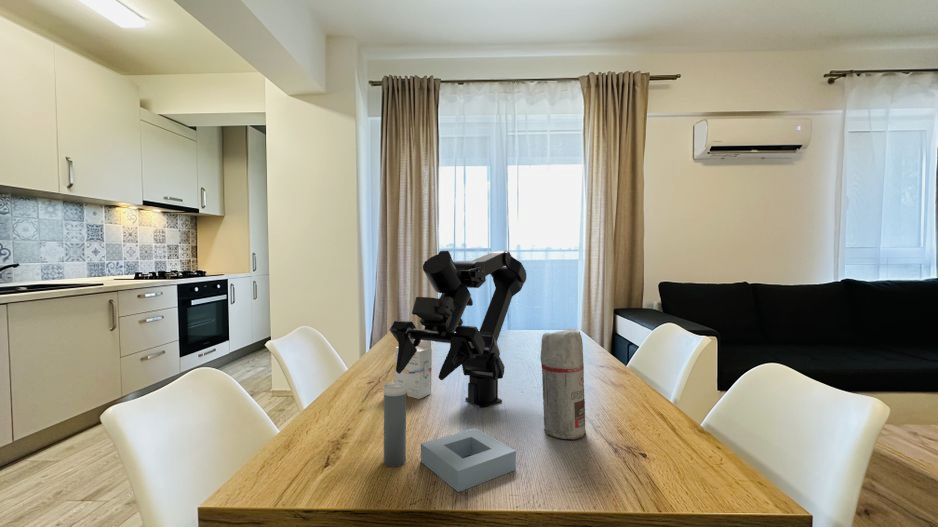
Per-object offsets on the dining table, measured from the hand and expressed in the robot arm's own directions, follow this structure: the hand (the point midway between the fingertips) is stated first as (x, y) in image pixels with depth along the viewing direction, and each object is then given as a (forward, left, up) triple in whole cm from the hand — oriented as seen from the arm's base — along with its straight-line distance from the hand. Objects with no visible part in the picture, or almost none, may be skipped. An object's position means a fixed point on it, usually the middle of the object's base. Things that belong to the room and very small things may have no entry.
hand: (418, 375), depth 72 cm
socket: (-3, +11, -13) cm, 17 cm away
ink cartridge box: (-13, -27, -13) cm, 33 cm away
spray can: (-26, +11, -13) cm, 31 cm away
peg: (+6, +3, -13) cm, 14 cm away
